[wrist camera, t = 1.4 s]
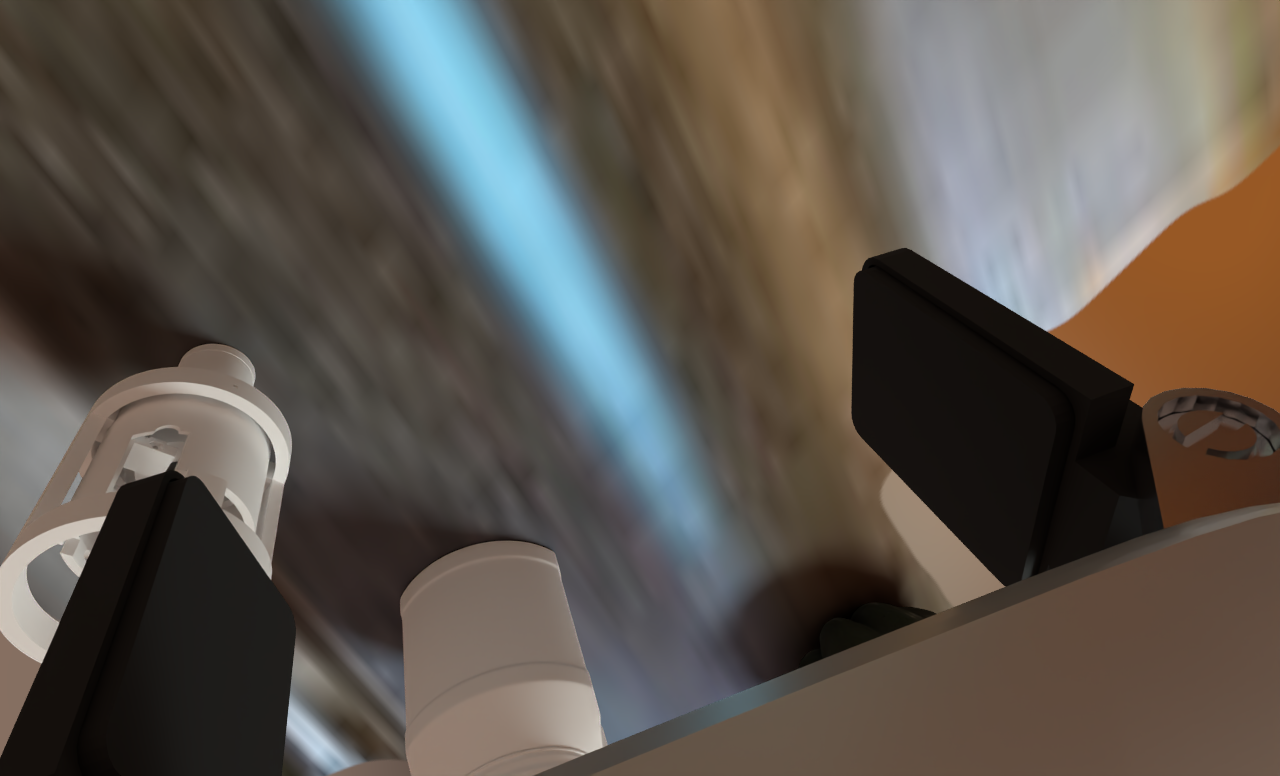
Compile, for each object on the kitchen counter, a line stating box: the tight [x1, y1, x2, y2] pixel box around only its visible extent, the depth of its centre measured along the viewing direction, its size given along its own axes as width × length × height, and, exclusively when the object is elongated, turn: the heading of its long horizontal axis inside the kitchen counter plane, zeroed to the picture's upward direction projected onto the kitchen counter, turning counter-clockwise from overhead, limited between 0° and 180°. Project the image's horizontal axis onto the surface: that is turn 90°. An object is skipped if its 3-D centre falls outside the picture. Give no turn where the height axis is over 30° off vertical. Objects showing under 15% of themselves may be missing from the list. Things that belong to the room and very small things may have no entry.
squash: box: [799, 602, 936, 668], centre depth 56 cm, size 14×15×15 cm
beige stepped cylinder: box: [0, 344, 292, 663], centre depth 27 cm, size 7×7×15 cm
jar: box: [400, 541, 607, 776], centre depth 40 cm, size 12×10×15 cm
